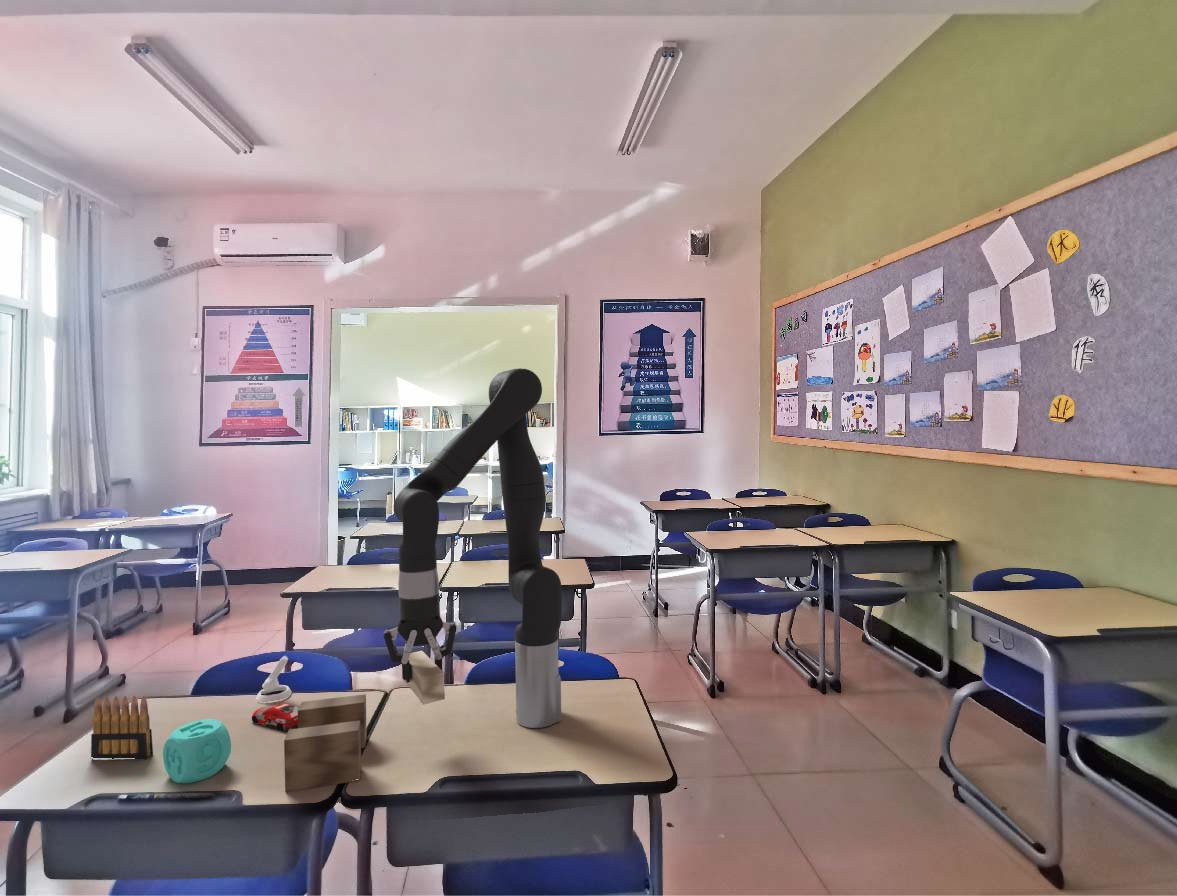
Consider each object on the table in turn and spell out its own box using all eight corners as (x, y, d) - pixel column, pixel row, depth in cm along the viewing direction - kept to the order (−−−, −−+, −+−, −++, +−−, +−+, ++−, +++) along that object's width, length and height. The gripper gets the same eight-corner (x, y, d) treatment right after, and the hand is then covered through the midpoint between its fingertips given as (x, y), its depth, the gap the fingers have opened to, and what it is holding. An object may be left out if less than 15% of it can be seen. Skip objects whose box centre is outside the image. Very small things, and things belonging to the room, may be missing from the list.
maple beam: (422, 674, 125) (421, 650, 124) (444, 699, 113) (443, 672, 112) (403, 679, 122) (402, 654, 122) (423, 704, 110) (422, 677, 110)
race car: (246, 723, 131) (246, 705, 131) (269, 713, 136) (269, 695, 136) (287, 735, 125) (287, 716, 125) (310, 724, 130) (309, 705, 130)
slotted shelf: (366, 738, 123) (365, 694, 123) (359, 780, 108) (358, 730, 108) (302, 746, 120) (301, 701, 120) (285, 791, 105) (284, 740, 104)
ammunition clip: (90, 760, 116) (88, 698, 116) (98, 755, 118) (96, 694, 118) (146, 759, 116) (145, 697, 116) (153, 754, 118) (152, 693, 118)
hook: (301, 681, 140) (273, 667, 138) (275, 720, 141) (247, 707, 140) (312, 663, 147) (286, 649, 146) (287, 700, 149) (260, 687, 147)
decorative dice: (208, 756, 117) (207, 715, 117) (232, 767, 113) (231, 724, 113) (162, 776, 110) (161, 732, 110) (186, 788, 106) (184, 743, 106)
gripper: (455, 583, 123) (459, 667, 123) (381, 591, 119) (384, 677, 119) (458, 593, 115) (461, 681, 116) (378, 601, 111) (382, 692, 112)
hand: (422, 678), depth 117 cm, fingers closed on maple beam, 4 cm apart
